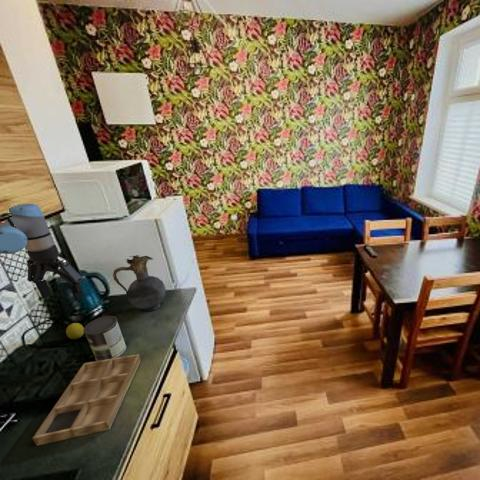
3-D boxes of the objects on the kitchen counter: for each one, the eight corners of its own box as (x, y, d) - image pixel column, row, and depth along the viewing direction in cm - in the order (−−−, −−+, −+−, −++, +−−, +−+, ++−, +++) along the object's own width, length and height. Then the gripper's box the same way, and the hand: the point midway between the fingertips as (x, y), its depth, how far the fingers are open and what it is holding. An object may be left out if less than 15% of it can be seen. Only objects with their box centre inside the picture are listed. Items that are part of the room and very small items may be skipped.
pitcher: (167, 310, 132) (153, 256, 121) (122, 319, 126) (102, 263, 114) (170, 298, 142) (157, 247, 130) (128, 306, 135) (110, 253, 124)
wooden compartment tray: (36, 445, 76) (32, 438, 75) (86, 369, 100) (83, 363, 98) (109, 429, 80) (106, 422, 79) (140, 360, 104) (138, 353, 103)
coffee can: (96, 366, 101) (84, 338, 96) (94, 351, 108) (82, 323, 102) (128, 352, 107) (118, 324, 102) (124, 338, 114) (114, 312, 109)
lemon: (86, 339, 114) (79, 324, 111) (69, 345, 111) (62, 330, 108) (87, 332, 118) (81, 317, 115) (71, 337, 115) (64, 322, 112)
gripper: (83, 244, 97) (101, 293, 105) (21, 241, 99) (44, 290, 107) (63, 253, 90) (84, 305, 98) (-3, 250, 92) (23, 301, 100)
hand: (63, 297), depth 103 cm, fingers open, 13 cm apart
